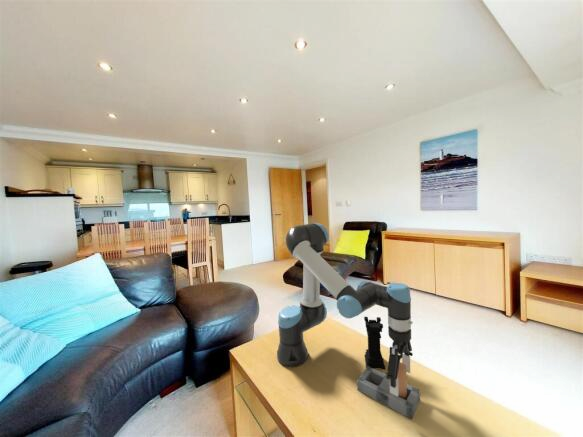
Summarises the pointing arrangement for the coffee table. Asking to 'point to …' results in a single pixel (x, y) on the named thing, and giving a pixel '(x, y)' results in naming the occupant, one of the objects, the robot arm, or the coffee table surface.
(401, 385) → the dowel
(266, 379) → the coffee table surface
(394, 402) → the socket board
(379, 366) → the chess piece
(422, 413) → the coffee table surface
